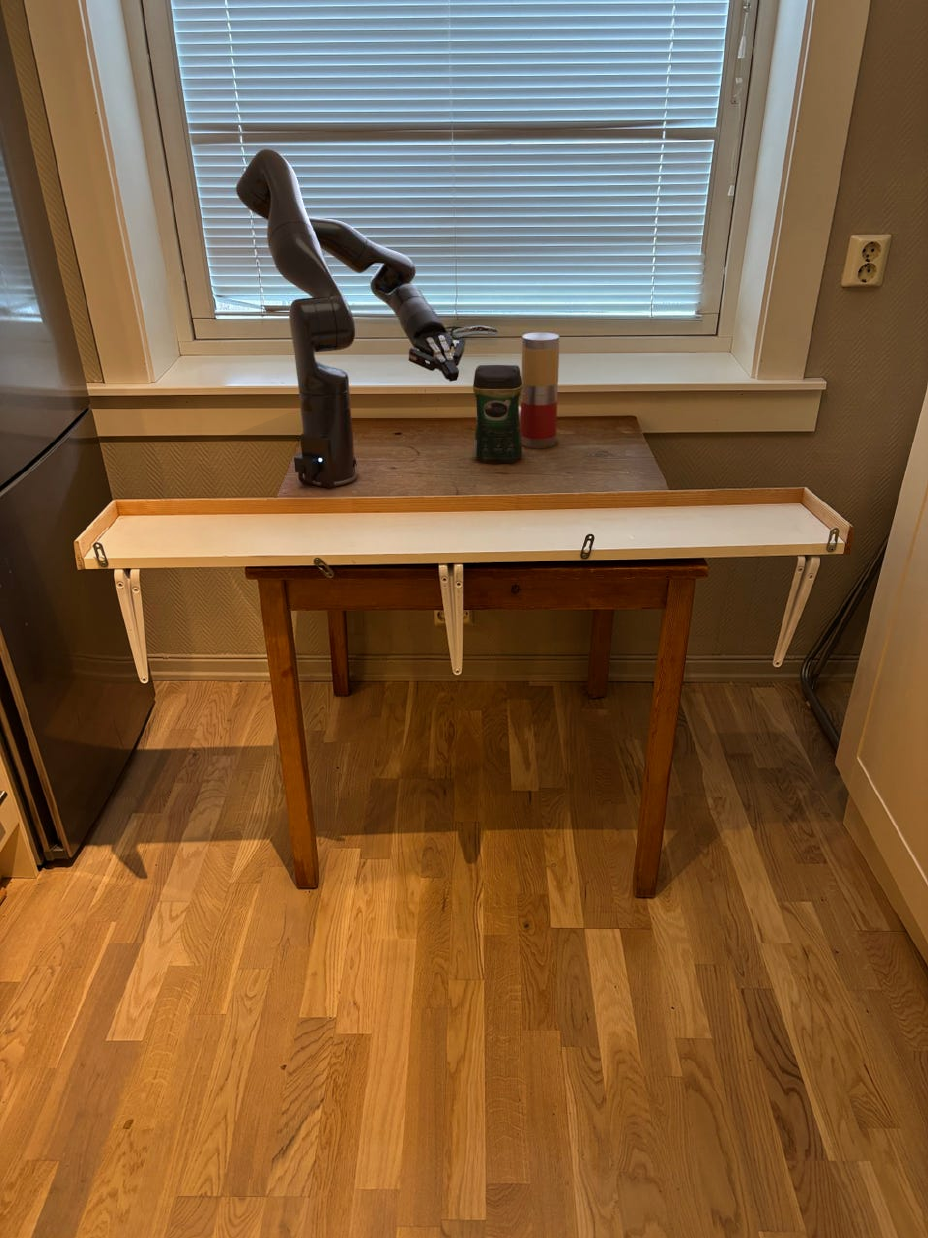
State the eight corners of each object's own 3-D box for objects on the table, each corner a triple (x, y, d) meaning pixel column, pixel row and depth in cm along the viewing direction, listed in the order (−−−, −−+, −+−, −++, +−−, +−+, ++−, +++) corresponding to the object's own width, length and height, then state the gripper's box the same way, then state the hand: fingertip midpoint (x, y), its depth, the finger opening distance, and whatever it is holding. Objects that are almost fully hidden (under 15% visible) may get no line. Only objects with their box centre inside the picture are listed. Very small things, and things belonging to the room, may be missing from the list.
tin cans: (546, 450, 188) (549, 341, 177) (514, 445, 191) (515, 337, 181) (561, 440, 194) (565, 334, 183) (529, 435, 197) (532, 330, 186)
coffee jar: (522, 452, 187) (524, 360, 178) (520, 465, 180) (521, 370, 171) (475, 451, 188) (475, 360, 179) (471, 463, 181) (470, 369, 172)
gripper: (448, 333, 194) (481, 386, 186) (390, 344, 190) (422, 398, 181) (452, 303, 188) (486, 356, 180) (392, 314, 184) (424, 368, 175)
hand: (454, 377), depth 181 cm, fingers closed
